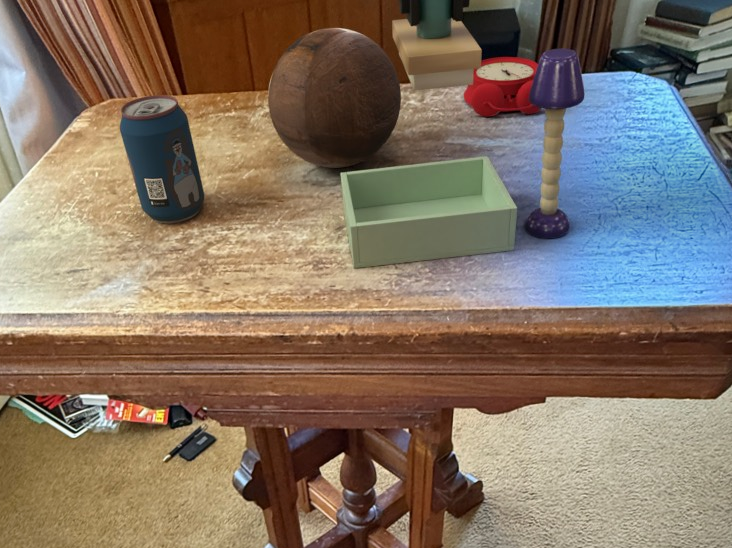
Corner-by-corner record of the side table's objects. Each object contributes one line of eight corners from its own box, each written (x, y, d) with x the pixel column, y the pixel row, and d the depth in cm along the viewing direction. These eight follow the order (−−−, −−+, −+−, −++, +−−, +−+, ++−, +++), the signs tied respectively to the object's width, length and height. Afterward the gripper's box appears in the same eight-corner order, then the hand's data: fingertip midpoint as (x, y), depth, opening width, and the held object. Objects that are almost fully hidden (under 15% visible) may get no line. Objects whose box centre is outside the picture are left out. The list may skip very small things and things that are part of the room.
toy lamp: (519, 239, 69) (534, 63, 59) (517, 215, 73) (530, 45, 62) (571, 238, 68) (596, 60, 58) (566, 214, 72) (588, 42, 62)
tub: (485, 195, 76) (487, 155, 74) (514, 250, 68) (517, 207, 65) (343, 211, 76) (340, 172, 73) (353, 268, 67) (350, 226, 65)
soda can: (157, 196, 83) (130, 93, 76) (214, 196, 82) (192, 91, 74) (134, 226, 78) (103, 119, 70) (195, 227, 76) (169, 118, 69)
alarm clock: (536, 53, 99) (560, 63, 86) (534, 100, 102) (557, 117, 88) (460, 59, 100) (472, 69, 87) (460, 105, 103) (472, 122, 89)
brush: (393, 53, 69) (389, -65, 62) (455, 46, 69) (458, -72, 62) (408, 93, 60) (406, -39, 54) (480, 86, 60) (486, -47, 54)
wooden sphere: (421, 143, 88) (420, 14, 79) (370, 199, 78) (361, 58, 69) (315, 130, 94) (302, 8, 85) (254, 180, 84) (231, 48, 75)
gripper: (321, -245, 47) (342, 42, 59) (567, -271, 47) (541, 21, 59) (316, -243, 53) (336, 18, 65) (535, -266, 53) (517, -1, 65)
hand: (433, 17), depth 62 cm, fingers closed on brush, 3 cm apart
